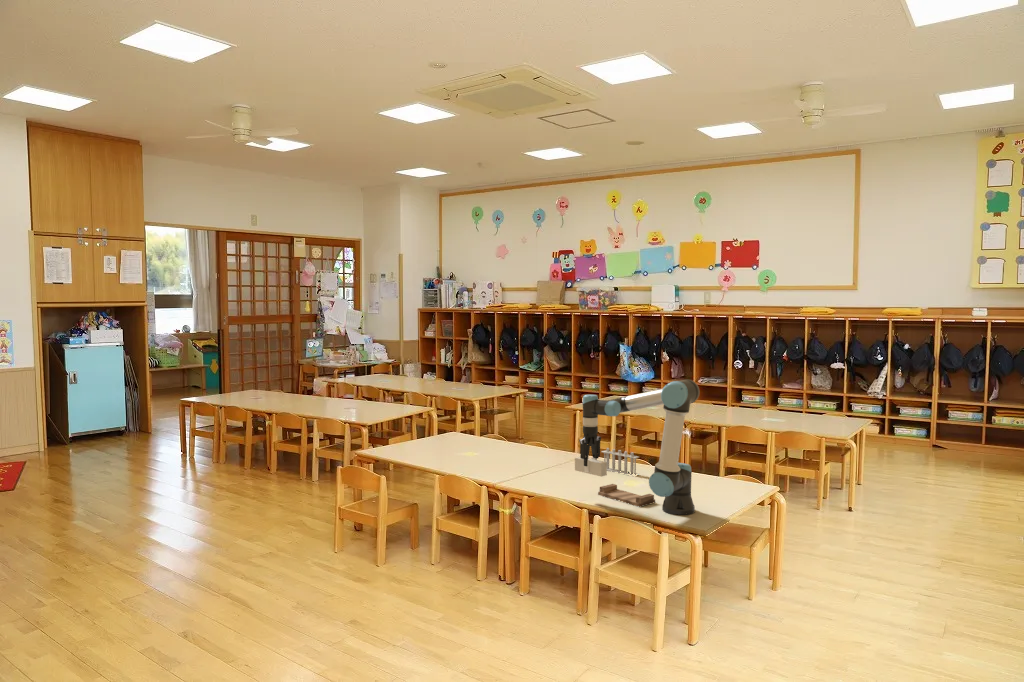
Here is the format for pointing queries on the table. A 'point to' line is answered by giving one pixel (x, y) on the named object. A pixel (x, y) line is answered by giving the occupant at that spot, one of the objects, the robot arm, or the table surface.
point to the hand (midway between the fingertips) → (590, 471)
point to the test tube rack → (632, 467)
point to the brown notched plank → (625, 495)
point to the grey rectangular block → (591, 466)
